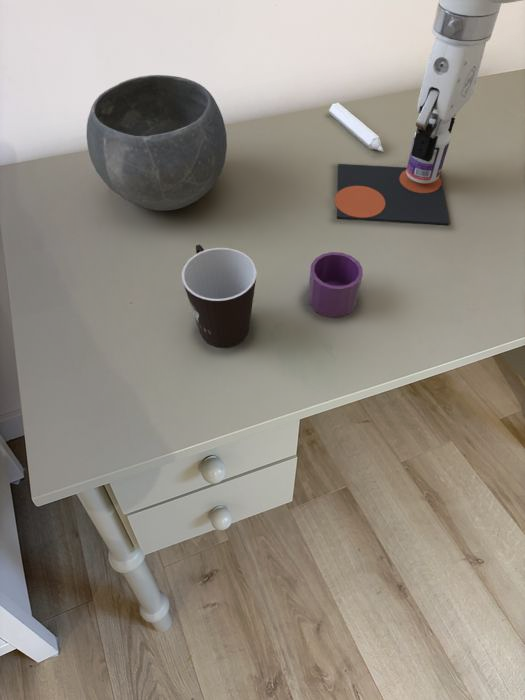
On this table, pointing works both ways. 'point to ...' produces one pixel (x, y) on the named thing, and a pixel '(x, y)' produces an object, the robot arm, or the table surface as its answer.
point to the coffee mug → (220, 294)
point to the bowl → (157, 141)
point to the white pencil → (356, 127)
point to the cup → (334, 284)
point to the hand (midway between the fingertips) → (429, 147)
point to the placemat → (388, 196)
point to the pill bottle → (432, 169)
